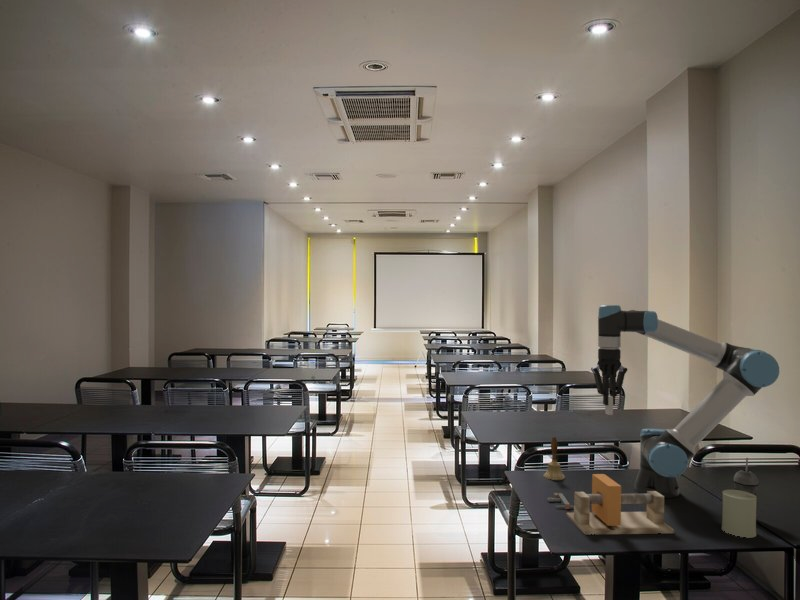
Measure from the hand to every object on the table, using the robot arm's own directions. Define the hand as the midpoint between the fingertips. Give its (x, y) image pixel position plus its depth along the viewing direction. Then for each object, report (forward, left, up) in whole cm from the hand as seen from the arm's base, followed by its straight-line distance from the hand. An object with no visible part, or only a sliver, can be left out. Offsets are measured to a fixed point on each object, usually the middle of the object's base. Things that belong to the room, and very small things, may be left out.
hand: (609, 414), depth 203 cm
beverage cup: (-38, +19, -30) cm, 52 cm away
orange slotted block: (+11, +23, -28) cm, 38 cm away
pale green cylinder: (-28, +30, -30) cm, 51 cm away
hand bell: (+11, -25, -30) cm, 41 cm away
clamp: (+18, +6, -31) cm, 36 cm away
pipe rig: (+7, +23, -30) cm, 39 cm away
